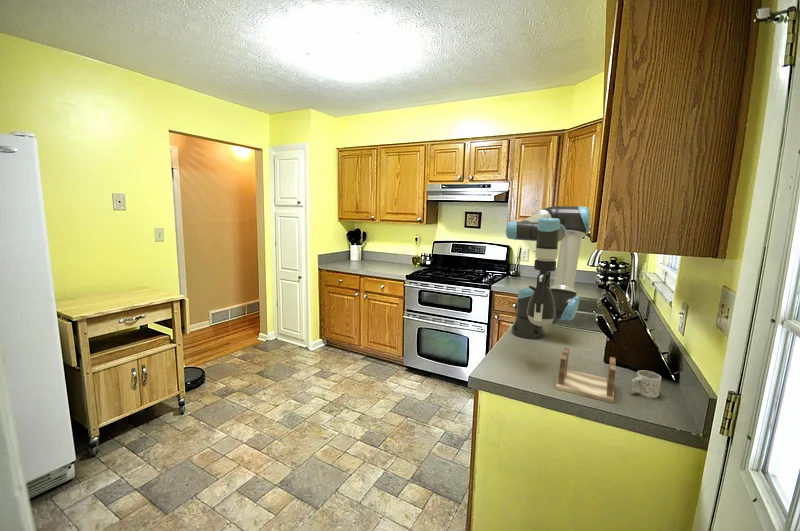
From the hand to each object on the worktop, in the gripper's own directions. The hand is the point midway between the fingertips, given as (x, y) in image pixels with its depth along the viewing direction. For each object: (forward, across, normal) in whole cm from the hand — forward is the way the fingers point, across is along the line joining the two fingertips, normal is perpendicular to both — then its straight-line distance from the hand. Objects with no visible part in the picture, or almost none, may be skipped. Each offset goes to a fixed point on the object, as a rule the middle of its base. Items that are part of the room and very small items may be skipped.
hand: (540, 317), depth 136 cm
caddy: (+20, +7, +18) cm, 28 cm away
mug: (+20, +1, +35) cm, 40 cm away
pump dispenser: (+3, 0, 0) cm, 3 cm away
